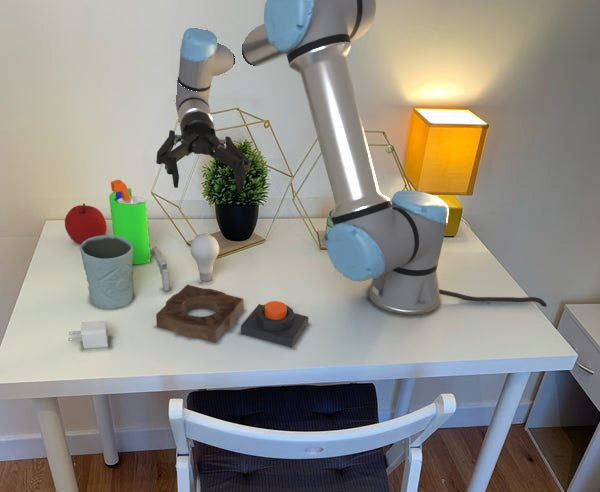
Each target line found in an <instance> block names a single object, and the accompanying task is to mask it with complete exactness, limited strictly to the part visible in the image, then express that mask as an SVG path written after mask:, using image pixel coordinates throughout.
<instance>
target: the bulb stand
mask: <svg viewBox="0 0 600 492" xmlns="http://www.w3.org/2000/svg"><path fill="white" fill-rule="evenodd" d="M244 303H245V301H244V298H242V297H239V296H234V295H230V294H227V293H225V292H224V291H220V290H216V289H213V288H203V287H199V286H196V285H192V284H191V285H190V284H186V285H185V286H184V287H183V288H182V289H181V290H180V291H179V292H177V293H174V294H173V295H172V296H171V297H170V298H168V299H167V300H166V302H165V305H164V306H163V307H162V308H161V309H160V310H159V311H158V312H157V313H155V318H156V327H157V328H159V329H163V330H166V331H170V332H174V333H175V334H177V335H179V336H182V337H185V338H189V339H199V340H202V341H207V342H210V343H213V344H217V343H218V342H219V340H221V338H222V337H223V336H224V334H226V333H228V332H230V331H231V329H233V328H234V326H236V322H237V321H236V320H237V319H238V318H239V317H240V316H241V314H242V313H243V312H244ZM194 310H195V311H196V310H208V311H212V312H214V313H212V314H209V315H205V316H204V315H203V316H199V315H196V316H195V315H191V314H189V312H191V311H194Z"/></svg>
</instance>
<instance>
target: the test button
mask: <svg viewBox="0 0 600 492" xmlns="http://www.w3.org/2000/svg"><path fill="white" fill-rule="evenodd" d="M265 304H266V305H265ZM265 304H264V305H265V312H264V314H265V316H266V317H267V318H269V319H273V320H280V319H283V318H285V317H286V315H287V306H288V305H287V304H286V303H284V302H283V301H280V300H271V301H268V302H266V303H265ZM286 305H287V306H286Z"/></svg>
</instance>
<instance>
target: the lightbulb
mask: <svg viewBox="0 0 600 492" xmlns="http://www.w3.org/2000/svg"><path fill="white" fill-rule="evenodd" d="M218 242H219V241H217V239H216V238H215V237H214V236H212V235H210V234H208V233H201V234H198V235H196V236H195V237H193V238H192V240H191V242H190V246H189V249H190V253H191V256H192V258H193V259H194V260H195V262H196V264H197V269H198V272H199V279H200V280H201V281H202V282H205V283H207V282H210V281H211V280H212V279H213V277H212V276H213V270H214V263H215V261H216V260H217V257H218V256H219V253H220V245H219V243H218Z"/></svg>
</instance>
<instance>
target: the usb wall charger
mask: <svg viewBox="0 0 600 492" xmlns="http://www.w3.org/2000/svg"><path fill="white" fill-rule="evenodd" d="M68 335H69V336H76V337H68V338H67V340H68V342H82V345H83V349H84V350H89V349H102V348H103V349H104V348H105V349H106V348H109V331H108V325H107V320H99V321H85V322H81V329H80V330H76V331H75V330H74V331H68Z"/></svg>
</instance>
